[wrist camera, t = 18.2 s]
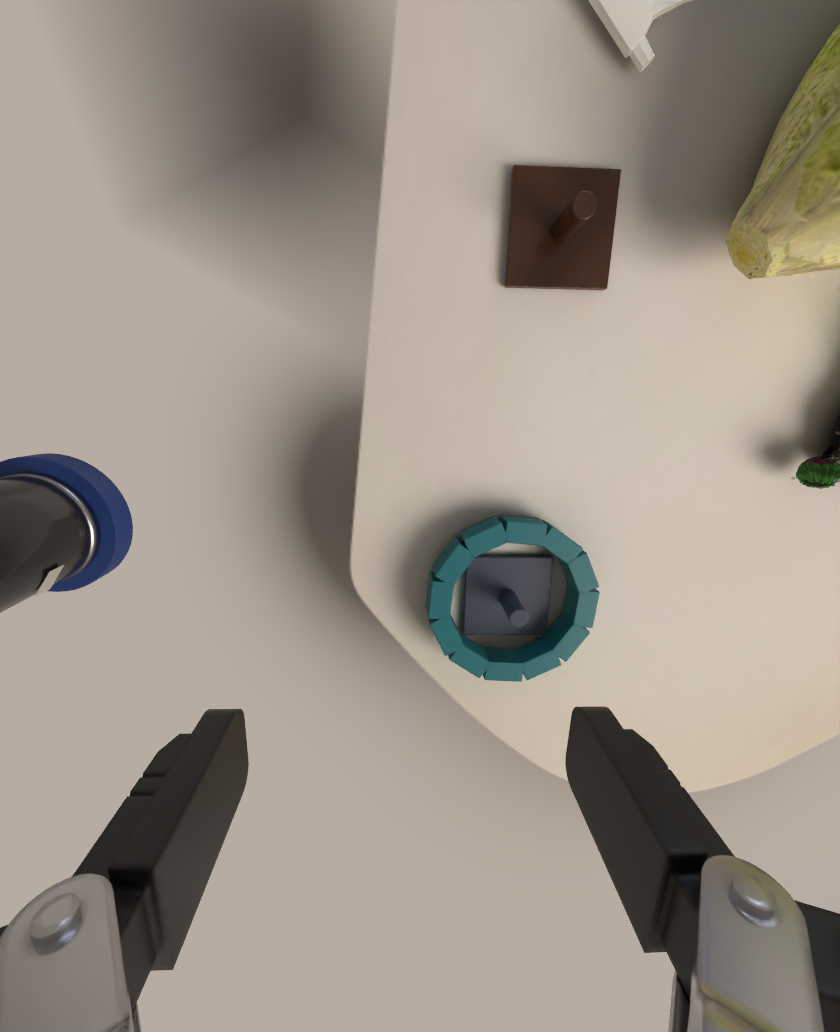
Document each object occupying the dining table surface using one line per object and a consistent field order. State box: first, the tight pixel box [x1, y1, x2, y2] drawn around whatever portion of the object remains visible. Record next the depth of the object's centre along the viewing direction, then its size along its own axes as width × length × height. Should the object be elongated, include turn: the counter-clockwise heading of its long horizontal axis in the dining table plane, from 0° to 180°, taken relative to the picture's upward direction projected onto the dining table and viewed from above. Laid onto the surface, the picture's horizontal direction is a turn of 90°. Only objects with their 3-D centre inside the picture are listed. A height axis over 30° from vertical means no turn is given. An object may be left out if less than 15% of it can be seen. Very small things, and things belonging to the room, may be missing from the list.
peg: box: [463, 555, 553, 635], centre depth 37 cm, size 8×8×4 cm
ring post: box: [505, 165, 621, 290], centre depth 29 cm, size 8×8×4 cm
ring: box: [426, 515, 599, 681], centre depth 37 cm, size 14×14×2 cm
